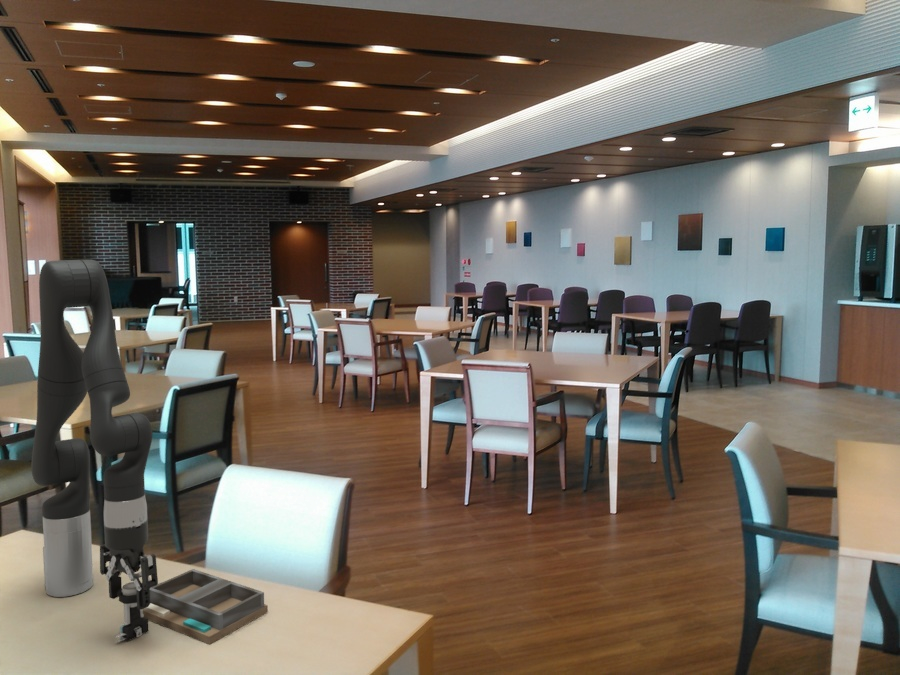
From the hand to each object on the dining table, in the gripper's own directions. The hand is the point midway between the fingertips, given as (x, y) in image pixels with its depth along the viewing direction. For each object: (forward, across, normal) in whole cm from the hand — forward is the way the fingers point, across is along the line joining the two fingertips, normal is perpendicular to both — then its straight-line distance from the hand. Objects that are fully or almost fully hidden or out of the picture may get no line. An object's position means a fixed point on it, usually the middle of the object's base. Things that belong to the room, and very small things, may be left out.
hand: (129, 602), depth 138 cm
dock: (+7, +4, +14) cm, 16 cm away
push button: (+7, 0, 0) cm, 7 cm away
